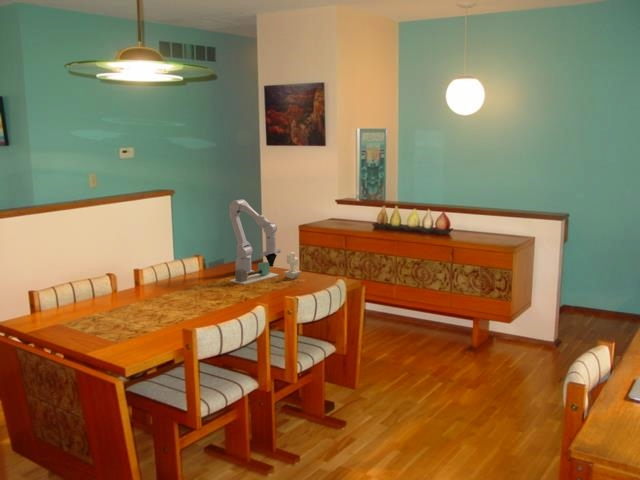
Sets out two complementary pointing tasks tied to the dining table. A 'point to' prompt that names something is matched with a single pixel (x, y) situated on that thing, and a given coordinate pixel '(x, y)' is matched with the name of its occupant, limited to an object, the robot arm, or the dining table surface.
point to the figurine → (292, 266)
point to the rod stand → (250, 277)
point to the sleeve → (263, 268)
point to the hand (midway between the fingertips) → (271, 266)
